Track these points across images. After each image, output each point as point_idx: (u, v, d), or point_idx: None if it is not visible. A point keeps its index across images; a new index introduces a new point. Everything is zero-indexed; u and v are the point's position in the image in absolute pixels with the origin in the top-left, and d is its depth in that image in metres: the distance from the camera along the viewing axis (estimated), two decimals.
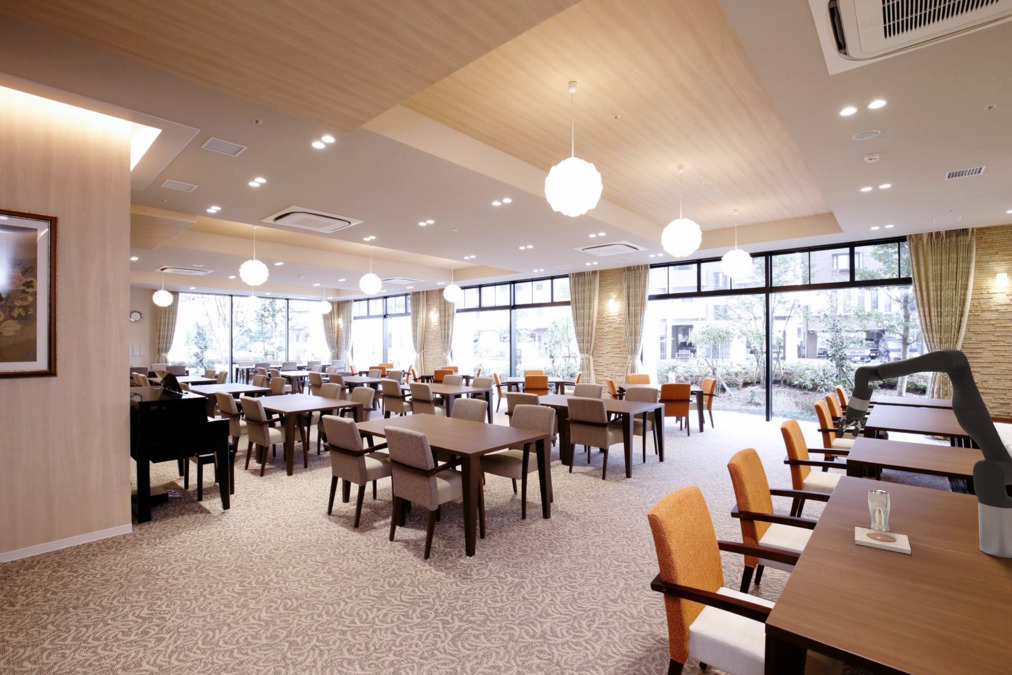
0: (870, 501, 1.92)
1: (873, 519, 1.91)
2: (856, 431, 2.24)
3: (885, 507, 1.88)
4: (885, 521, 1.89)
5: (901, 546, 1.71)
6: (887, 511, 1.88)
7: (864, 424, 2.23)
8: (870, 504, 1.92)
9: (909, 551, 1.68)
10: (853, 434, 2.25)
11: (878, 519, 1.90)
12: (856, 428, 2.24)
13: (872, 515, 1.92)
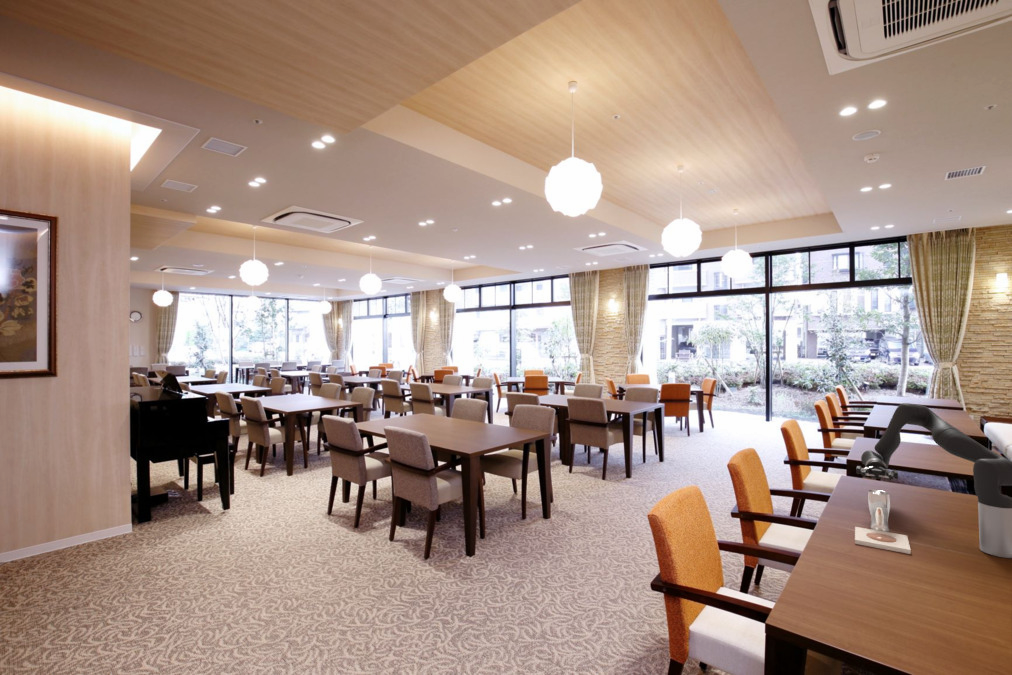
0: (870, 501, 1.92)
1: (873, 519, 1.91)
2: (888, 474, 2.01)
3: (885, 507, 1.88)
4: (885, 521, 1.89)
5: (901, 546, 1.71)
6: (887, 511, 1.88)
7: (895, 471, 2.03)
8: (870, 504, 1.92)
9: (909, 551, 1.68)
10: (889, 477, 1.99)
11: (878, 519, 1.90)
12: (889, 475, 2.02)
13: (872, 515, 1.92)
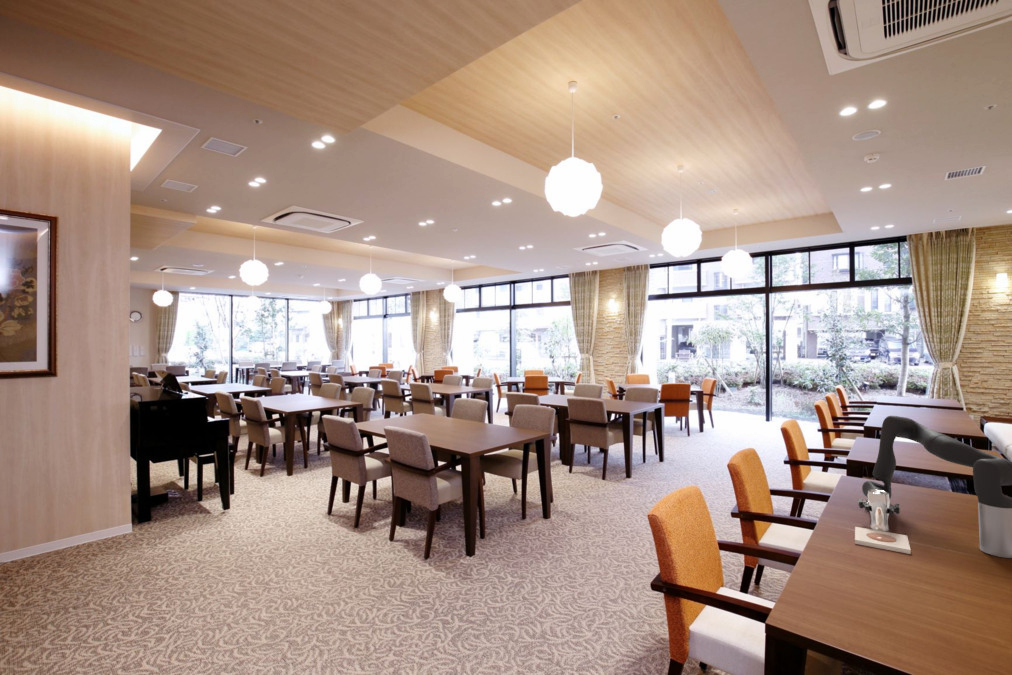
0: (870, 501, 1.92)
1: (873, 519, 1.91)
2: (889, 509, 1.90)
3: (885, 507, 1.88)
4: (885, 521, 1.89)
5: (901, 546, 1.71)
6: (887, 511, 1.88)
7: (896, 506, 1.92)
8: (870, 504, 1.92)
9: (909, 551, 1.68)
10: (889, 512, 1.88)
11: (878, 519, 1.90)
12: None
13: (872, 515, 1.92)
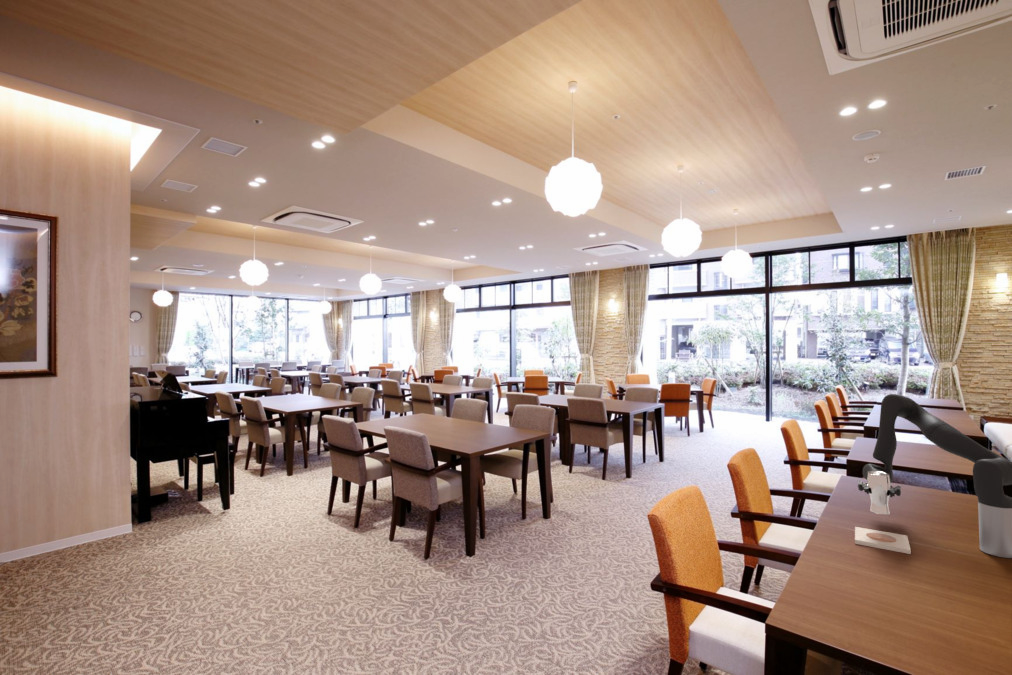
0: (869, 483, 1.84)
1: (873, 501, 1.84)
2: None
3: (885, 489, 1.80)
4: (885, 503, 1.81)
5: (901, 546, 1.71)
6: (887, 493, 1.81)
7: (897, 487, 1.84)
8: (869, 486, 1.84)
9: (909, 551, 1.68)
10: (890, 494, 1.81)
11: (878, 501, 1.82)
12: None
13: (872, 497, 1.84)
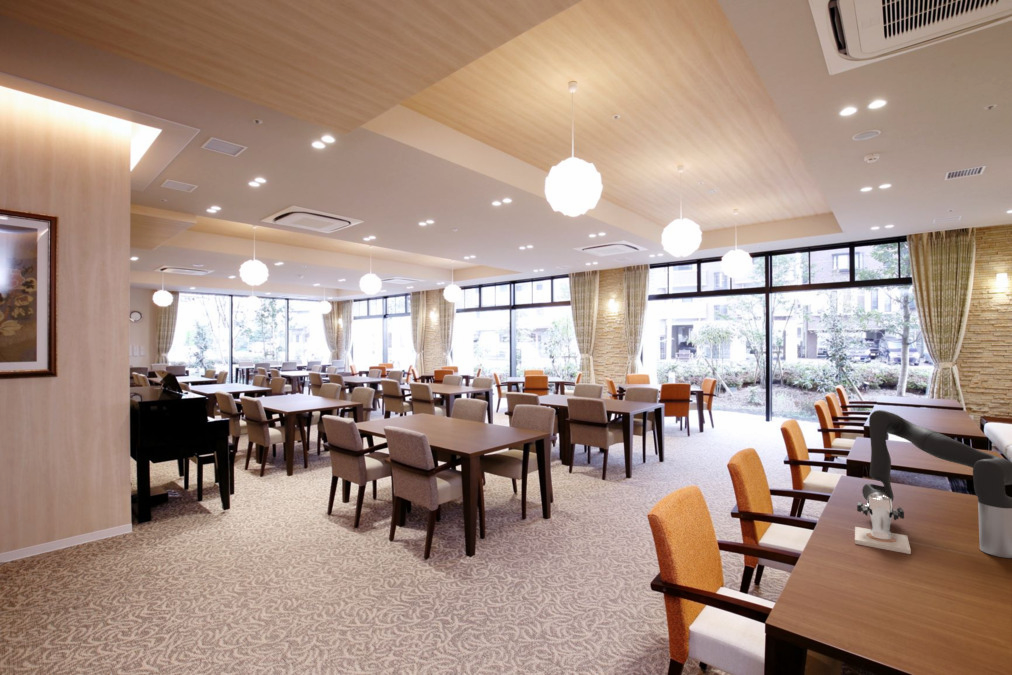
0: (871, 507, 1.80)
1: (874, 526, 1.79)
2: (893, 513, 1.78)
3: (887, 513, 1.76)
4: (887, 528, 1.77)
5: (901, 546, 1.71)
6: (889, 518, 1.77)
7: (900, 510, 1.80)
8: (871, 510, 1.80)
9: (909, 551, 1.68)
10: None
11: (879, 526, 1.78)
12: (893, 514, 1.79)
13: (873, 522, 1.80)
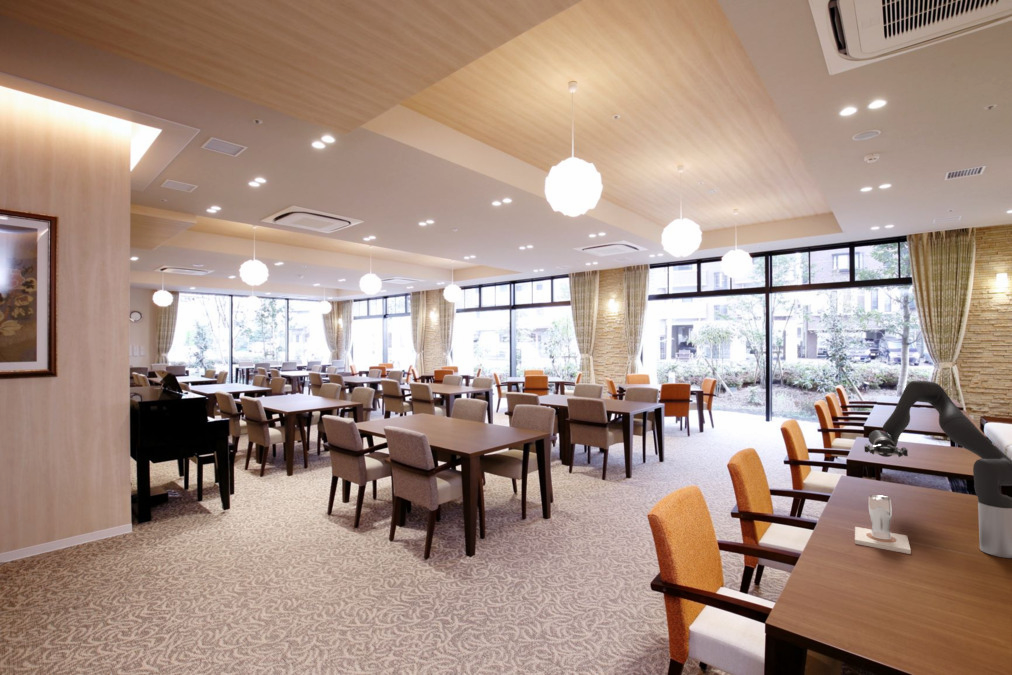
0: (871, 507, 1.80)
1: (874, 526, 1.79)
2: (897, 451, 1.95)
3: (887, 513, 1.76)
4: (887, 528, 1.77)
5: (901, 546, 1.71)
6: (889, 518, 1.77)
7: (904, 449, 1.97)
8: (871, 510, 1.80)
9: (909, 551, 1.68)
10: (898, 454, 1.94)
11: (879, 526, 1.78)
12: (898, 452, 1.96)
13: (873, 522, 1.80)
